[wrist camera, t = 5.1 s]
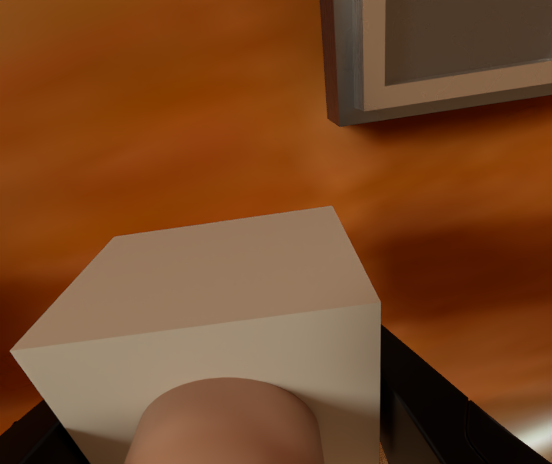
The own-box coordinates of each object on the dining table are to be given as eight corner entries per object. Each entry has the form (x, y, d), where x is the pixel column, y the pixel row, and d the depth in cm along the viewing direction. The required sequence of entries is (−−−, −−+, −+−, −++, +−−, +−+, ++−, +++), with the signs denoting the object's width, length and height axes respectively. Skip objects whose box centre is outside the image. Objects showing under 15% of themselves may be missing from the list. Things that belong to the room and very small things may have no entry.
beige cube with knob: (342, 362, 11) (414, 629, 6) (175, 383, 11) (96, 658, 6) (332, 205, 9) (446, 433, 3) (114, 237, 9) (-127, 499, 3)
